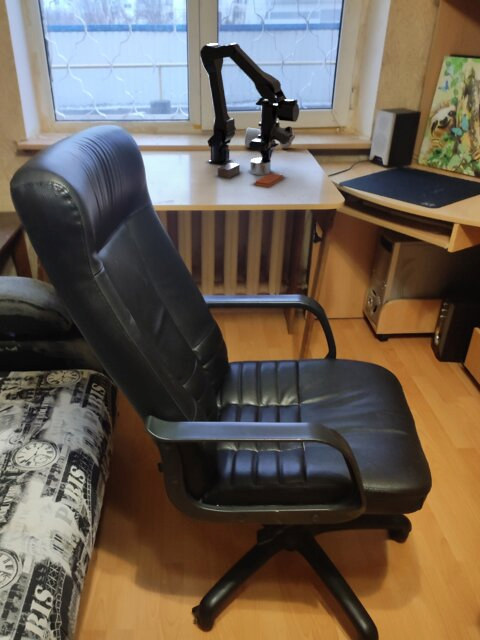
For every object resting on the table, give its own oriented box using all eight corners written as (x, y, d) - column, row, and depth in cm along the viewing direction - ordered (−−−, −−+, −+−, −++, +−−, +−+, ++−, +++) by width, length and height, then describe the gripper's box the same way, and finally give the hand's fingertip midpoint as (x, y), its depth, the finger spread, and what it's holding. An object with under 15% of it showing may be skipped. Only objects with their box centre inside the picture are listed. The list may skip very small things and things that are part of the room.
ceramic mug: (263, 150, 225) (264, 130, 220) (244, 149, 227) (244, 129, 222) (268, 144, 233) (269, 125, 229) (249, 143, 235) (250, 124, 231)
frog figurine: (292, 150, 224) (294, 132, 220) (275, 149, 226) (277, 131, 222) (295, 147, 229) (297, 129, 225) (279, 146, 230) (280, 128, 226)
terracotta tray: (253, 184, 189) (253, 181, 189) (269, 175, 197) (269, 172, 197) (267, 187, 187) (268, 184, 186) (283, 178, 195) (283, 174, 194)
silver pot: (246, 173, 201) (247, 161, 198) (256, 168, 205) (256, 156, 203) (264, 175, 197) (264, 164, 195) (273, 170, 202) (274, 159, 200)
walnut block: (217, 176, 198) (217, 168, 196) (228, 171, 203) (229, 162, 201) (228, 178, 196) (228, 169, 194) (239, 172, 201) (239, 164, 199)
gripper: (278, 127, 185) (275, 174, 194) (300, 116, 198) (297, 160, 207) (248, 124, 190) (247, 170, 199) (272, 113, 202) (270, 157, 212)
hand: (267, 164), depth 204 cm, fingers closed
